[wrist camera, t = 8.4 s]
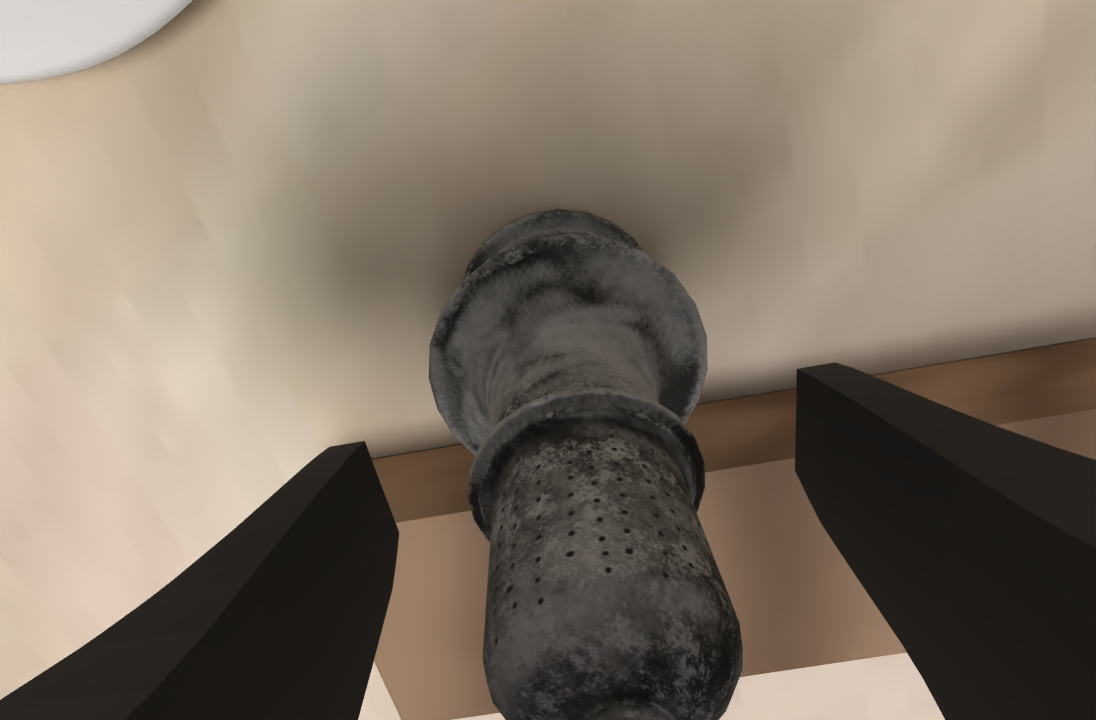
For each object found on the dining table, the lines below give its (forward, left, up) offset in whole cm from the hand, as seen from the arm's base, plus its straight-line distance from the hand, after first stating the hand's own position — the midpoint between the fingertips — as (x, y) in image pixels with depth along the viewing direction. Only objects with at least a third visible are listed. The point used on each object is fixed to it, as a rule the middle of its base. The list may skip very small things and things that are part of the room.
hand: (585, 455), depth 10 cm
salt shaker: (0, 0, -7) cm, 7 cm away
